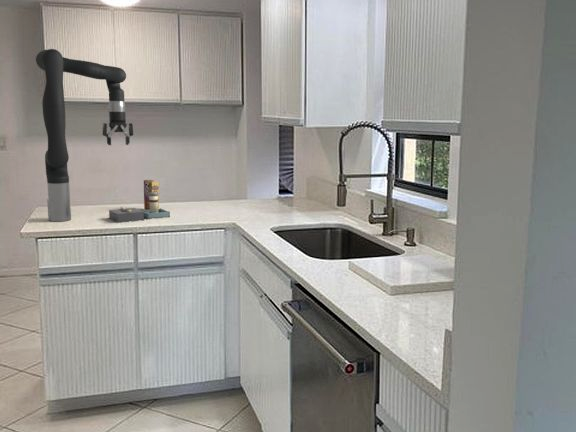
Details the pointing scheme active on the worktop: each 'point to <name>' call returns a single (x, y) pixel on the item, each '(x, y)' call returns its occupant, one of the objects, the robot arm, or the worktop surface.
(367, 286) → the worktop surface
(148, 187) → the candy box
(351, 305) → the worktop surface
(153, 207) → the fuse
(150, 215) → the tray
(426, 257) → the worktop surface
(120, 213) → the fuse block
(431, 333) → the worktop surface
